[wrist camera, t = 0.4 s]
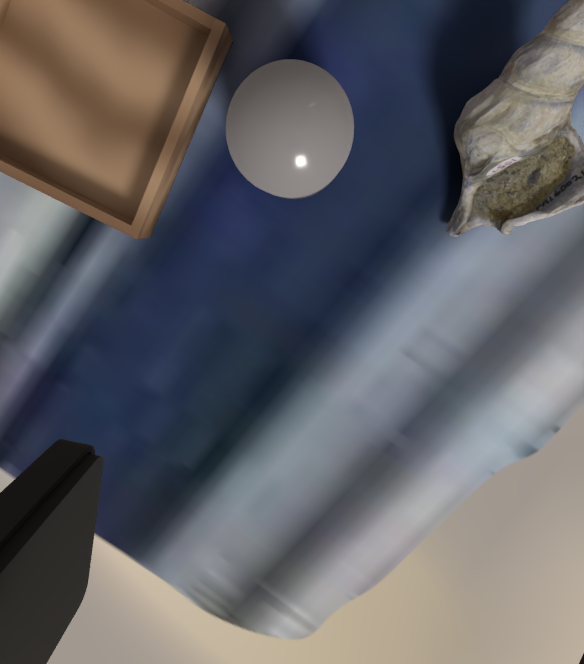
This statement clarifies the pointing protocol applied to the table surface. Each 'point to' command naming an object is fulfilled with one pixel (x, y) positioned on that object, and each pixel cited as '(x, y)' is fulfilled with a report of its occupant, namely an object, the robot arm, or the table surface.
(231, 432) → the table surface
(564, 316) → the table surface
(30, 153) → the walnut tray
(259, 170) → the grey rounded cylinder
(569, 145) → the seashell
